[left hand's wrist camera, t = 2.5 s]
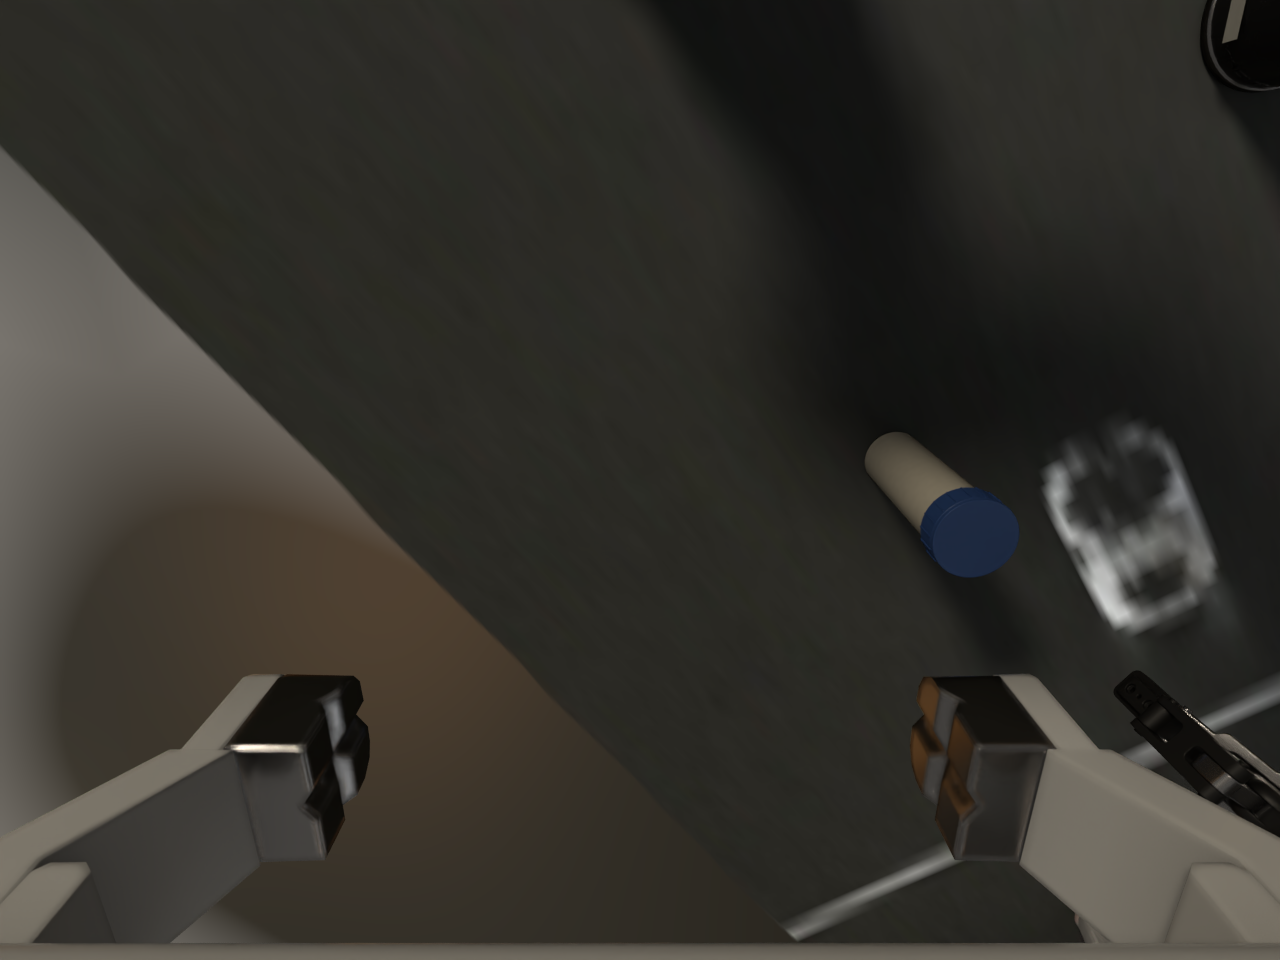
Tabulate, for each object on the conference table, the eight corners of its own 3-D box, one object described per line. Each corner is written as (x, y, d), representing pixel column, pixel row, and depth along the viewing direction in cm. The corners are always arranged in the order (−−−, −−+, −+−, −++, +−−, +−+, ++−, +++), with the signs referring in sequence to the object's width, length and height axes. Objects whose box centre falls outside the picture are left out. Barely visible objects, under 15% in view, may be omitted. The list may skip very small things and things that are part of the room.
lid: (902, 520, 47) (914, 535, 45) (976, 469, 46) (992, 481, 44) (947, 577, 48) (960, 594, 46) (1019, 529, 47) (1036, 544, 45)
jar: (853, 455, 60) (920, 532, 45) (901, 420, 59) (986, 486, 44) (885, 496, 61) (960, 583, 47) (933, 462, 60) (1024, 540, 46)
